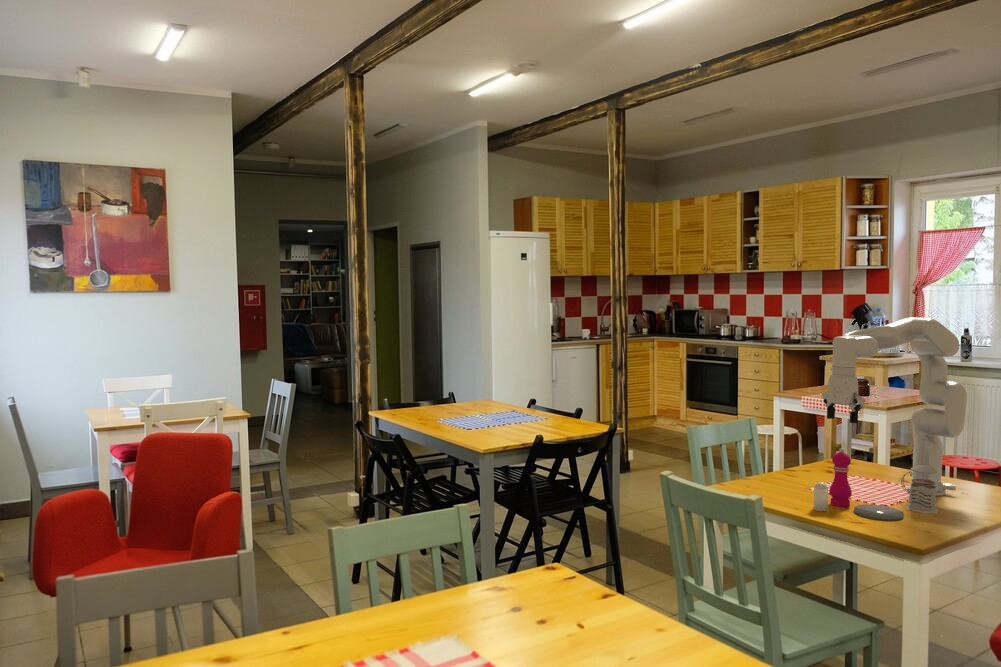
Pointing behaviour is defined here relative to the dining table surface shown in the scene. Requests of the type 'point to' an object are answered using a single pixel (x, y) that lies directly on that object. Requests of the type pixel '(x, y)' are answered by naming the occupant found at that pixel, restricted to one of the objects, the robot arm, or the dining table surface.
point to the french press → (922, 489)
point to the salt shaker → (820, 496)
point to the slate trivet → (879, 512)
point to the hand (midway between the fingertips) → (842, 420)
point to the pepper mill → (840, 480)
